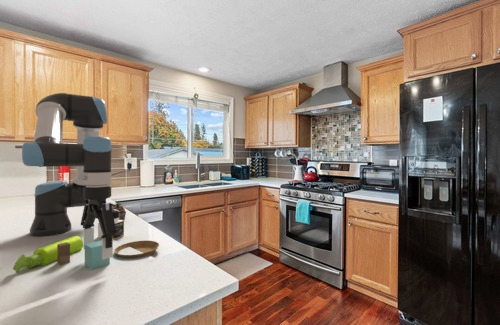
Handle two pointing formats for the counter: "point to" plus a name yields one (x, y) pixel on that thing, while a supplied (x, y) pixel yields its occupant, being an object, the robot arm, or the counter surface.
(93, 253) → the teal foam cube
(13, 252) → the counter surface
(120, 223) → the medicine bottle
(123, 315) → the counter surface
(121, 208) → the cupcake
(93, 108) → the robot arm
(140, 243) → the plant saucer
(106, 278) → the counter surface
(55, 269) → the counter surface
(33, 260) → the soap dispenser
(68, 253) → the post walnut
